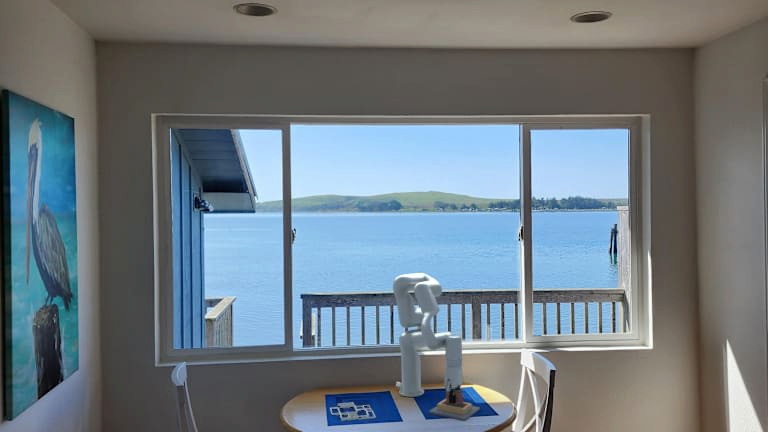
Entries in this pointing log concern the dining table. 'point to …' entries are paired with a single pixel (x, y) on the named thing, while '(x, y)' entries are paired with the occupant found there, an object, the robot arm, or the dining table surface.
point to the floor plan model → (350, 417)
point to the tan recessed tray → (454, 410)
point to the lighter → (458, 397)
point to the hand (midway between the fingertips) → (454, 401)
